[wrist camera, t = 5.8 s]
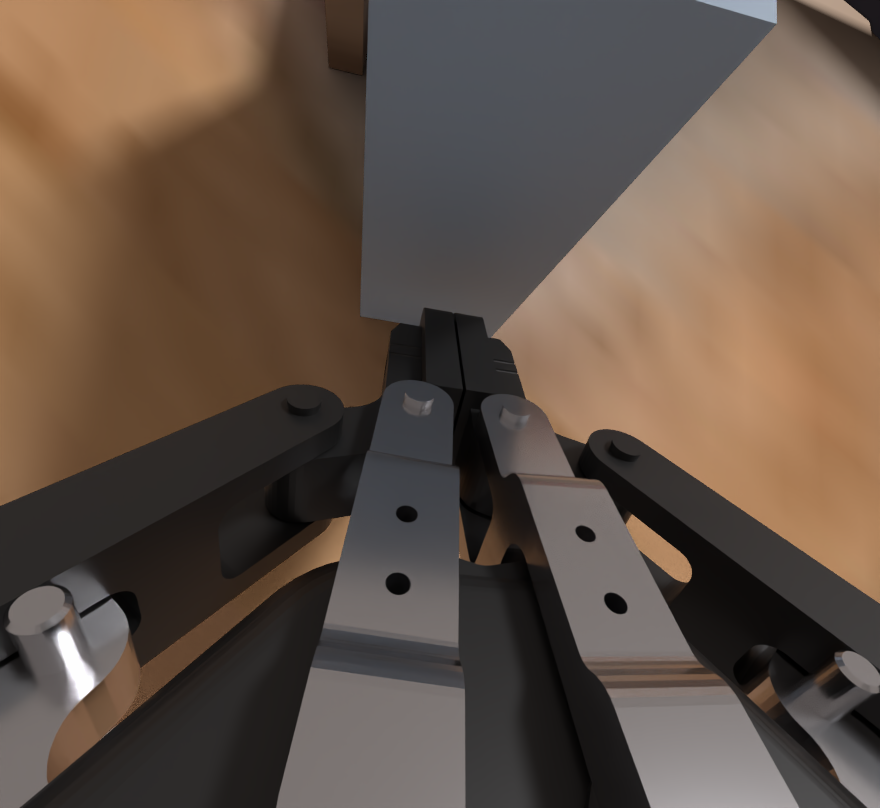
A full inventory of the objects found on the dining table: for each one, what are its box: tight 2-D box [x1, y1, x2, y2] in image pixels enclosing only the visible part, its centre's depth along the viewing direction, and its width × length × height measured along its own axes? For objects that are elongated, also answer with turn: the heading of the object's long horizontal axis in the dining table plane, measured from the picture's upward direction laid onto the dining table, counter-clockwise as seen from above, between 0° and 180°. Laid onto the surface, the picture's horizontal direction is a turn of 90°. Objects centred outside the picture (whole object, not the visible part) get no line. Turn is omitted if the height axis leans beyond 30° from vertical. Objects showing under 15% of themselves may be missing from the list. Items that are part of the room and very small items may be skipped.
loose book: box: [360, 0, 777, 338], centre depth 12 cm, size 12×4×12 cm, turn 173°
